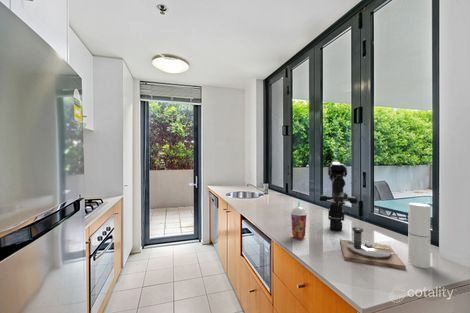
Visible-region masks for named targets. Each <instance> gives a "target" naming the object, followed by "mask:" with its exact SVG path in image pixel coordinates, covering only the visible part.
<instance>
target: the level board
mask: <svg viewBox="0 0 470 313" xmlns="http://www.w3.org/2000/svg"><path fill="white" fill-rule="evenodd" d="M349 241H351V240H349V239H343V238H342V239H341V238H340V240H339V242H340V247H341V252H342V256H343V260H344V261H347V262H348V261H349V262H355V263H361V264H367V265H374V266H380V267H386V268H387V267H388V268H393V269H399V270H404V271H405V270H406V266H407V265H406V264H405V263H404V262H403V260H401V258H400V256H399V255H398V253H396V252H395V250H394V249H393V248H392V247H391V245H390V244H389V245H388V244H383V245H384V246H386V247H388V248H389V249H390V250H391V256H390V257H388V258H371V257H366V256H362V255H359V254H356V253H354V252H352V251H351V250H350V249H349V248H348V242H349Z"/></svg>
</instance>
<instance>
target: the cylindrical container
mask: <svg viewBox="0 0 470 313" xmlns="http://www.w3.org/2000/svg"><path fill="white" fill-rule="evenodd" d="M407 206H408V211H407V212H408V213H407V214H408V216H407V217H408V221H407V222H408V223H407V224H408V227H407V229H408V230H407V231H408V234H407V235H408V236H407V239H408V242H407V243H408V244H407V245H408V246H407V248H408V249H407V250H408V251H407V253H408V254H407V255H408V256H407V261H408V264H410V265H412V266H414V267H417V268H422V269H430V268H431V214H432V213H431V211H432V210H431V208H432V207H431V205H430V204H426V203H420V202H409V203H408V205H407Z"/></svg>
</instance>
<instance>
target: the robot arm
mask: <svg viewBox="0 0 470 313" xmlns="http://www.w3.org/2000/svg"><path fill="white" fill-rule="evenodd" d="M327 175H328V176H329V177H328V178H329V180H330V182H331V196H328V195H327V194H319V202H327V201H330V205H329V209H328V210H327V214H328V215H327V218H328V220H329V230H330V231H336V232H342V230H343V222H344V221H345V214H346V213H345V212H344V210H343V205H346V202H349V203H350V204H358V198H356V196H348V194H349V193H348V192H344V187H345V186H346V181H345V180H344V178H345V177H347V175H348V169H347V167H346V165H345V164H344V163H341V162H339V161H331V162H330V165H329V166H328V167H327Z"/></svg>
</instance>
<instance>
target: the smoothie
mask: <svg viewBox="0 0 470 313" xmlns="http://www.w3.org/2000/svg"><path fill="white" fill-rule="evenodd" d="M297 203H298V204H297V206H295V207H293V208H292V210H291V212H290V216H291V217H290V218H291V234H292V238H293V239H295V240H300V241H301V240H304V239H305V237H306V229H307V228H306V226H307V214H308V213H307V212H306V209H305V208H304V207H302V206H301V205H300V201H298V202H297Z"/></svg>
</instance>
